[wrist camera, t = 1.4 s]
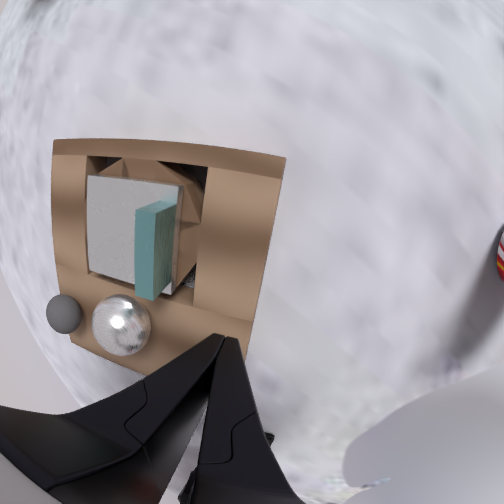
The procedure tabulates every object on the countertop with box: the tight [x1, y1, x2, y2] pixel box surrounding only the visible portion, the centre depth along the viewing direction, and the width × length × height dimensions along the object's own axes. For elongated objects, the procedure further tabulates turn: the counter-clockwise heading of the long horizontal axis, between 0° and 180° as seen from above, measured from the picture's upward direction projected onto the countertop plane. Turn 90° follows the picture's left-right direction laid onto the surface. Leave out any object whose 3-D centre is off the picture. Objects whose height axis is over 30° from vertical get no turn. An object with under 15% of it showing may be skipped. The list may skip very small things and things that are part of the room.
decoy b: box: [46, 294, 82, 334], centre depth 19 cm, size 4×4×4 cm
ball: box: [91, 294, 151, 356], centre depth 17 cm, size 4×4×4 cm
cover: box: [87, 174, 184, 301], centre depth 15 cm, size 7×7×3 cm
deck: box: [51, 138, 286, 376], centre depth 20 cm, size 20×18×2 cm
